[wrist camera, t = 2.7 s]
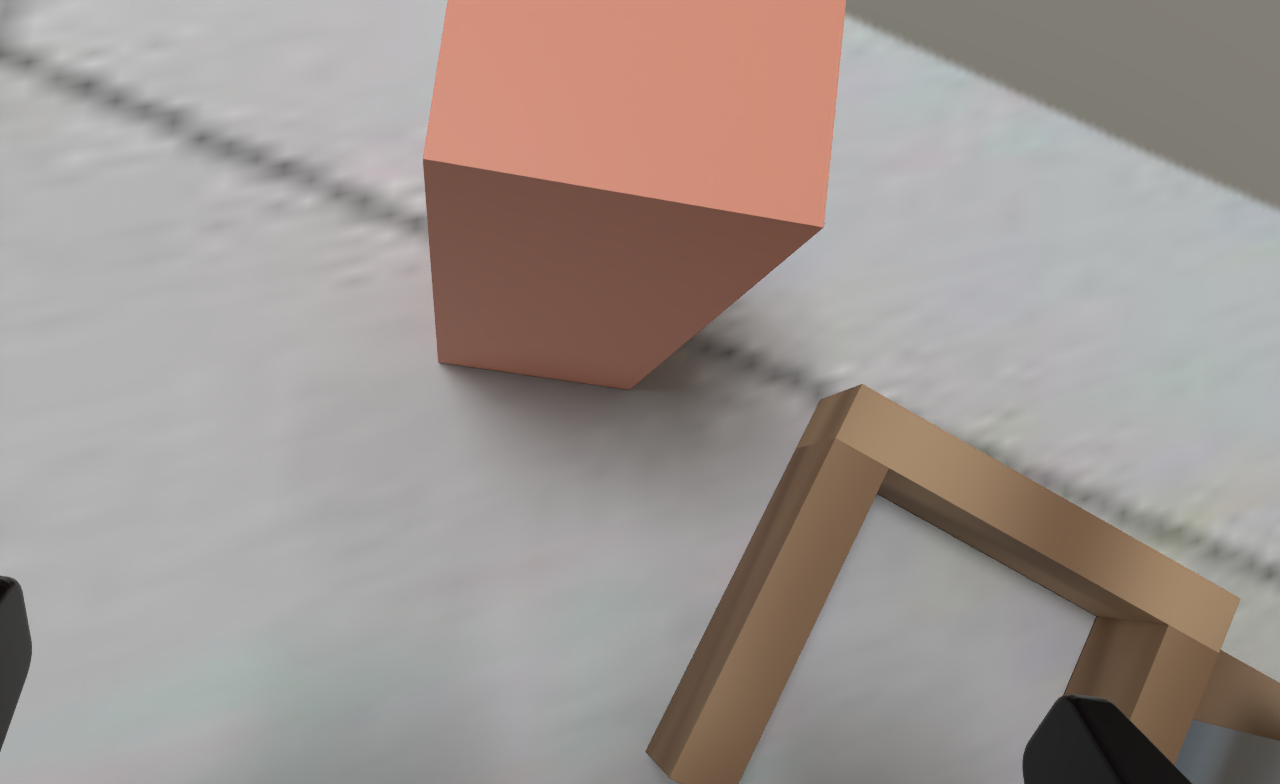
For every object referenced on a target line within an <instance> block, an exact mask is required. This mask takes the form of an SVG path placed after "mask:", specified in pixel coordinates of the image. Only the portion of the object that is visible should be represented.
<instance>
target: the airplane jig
mask: <svg viewBox="0 0 1280 784" xmlns="http://www.w3.org/2000/svg"><path fill="white" fill-rule="evenodd" d="M876 494H879V495H881V496H883V497H884V498H886V499H888V500H890V501H892V502H893V503H895V504H897V505H899V506H901V507H902V508H904V509H906V510H908V511H909V512H911V513H913V514H915V515H917V516H918V517H920V518H922V519H924V520H926V521H927V522H929V523H931V524H933V525H935V526H936V527H938V528H940V529H942V530H944V531H945V532H947V533H949V534H951V535H952V536H954V537H956V538H958V539H960V540H961V541H963V542H965V543H967V544H969V545H970V546H972V547H974V548H976V549H978V550H979V551H981V552H983V553H985V554H987V555H988V556H990V557H992V558H994V559H995V560H997V561H999V562H1001V563H1003V564H1004V565H1006V566H1008V567H1010V568H1012V569H1013V570H1015V571H1017V572H1019V573H1021V574H1022V575H1024V576H1026V577H1028V578H1030V579H1031V580H1033V581H1035V582H1037V583H1038V584H1040V585H1042V586H1044V587H1046V588H1047V589H1049V590H1051V591H1053V592H1055V593H1056V594H1058V595H1060V596H1062V597H1064V598H1065V599H1067V600H1069V601H1071V602H1073V603H1074V604H1076V605H1078V606H1080V607H1081V608H1083V609H1085V610H1087V611H1089V612H1090V613H1092V614H1094V615H1096V616H1097V618H1096V620H1095V623H1094V625H1093V627H1092V630H1091V632H1090V635H1089V637H1088V639H1087V642H1086V644H1085V646H1084V649H1083V651H1082V653H1081V656H1080V658H1079V661H1078V663H1077V665H1076V668H1075V670H1074V672H1073V675H1072V677H1071V679H1070V682H1069V684H1068V686H1067V689H1066V691H1065V694H1064V695H1066V694H1077V695H1086V696H1095V697H1101V698H1105V699H1107V700H1109V701H1110V702H1112V703H1113V704H1114V705H1116V706H1117V707H1118V708H1119V709H1120V710H1121V711H1122V712H1123V713H1124V714H1125V715H1126V716H1127V717H1128V718H1129V719H1130V720H1131V721H1132V722H1133V723H1134V724H1135V726H1136V727H1137V728H1138V729H1139V730H1140V731H1141V732H1142V733H1143V734H1144V735H1145V736H1146V737H1147V738H1148V739H1149V740H1150V741H1151V742H1152V743H1153V744H1154V745H1155V746H1156V747H1157V748H1158V749H1159V750H1160V751H1161V752H1162V753H1163V754H1164V755H1165V756H1166V757H1167V758H1168V759H1169V760H1170V761H1171V762H1172V763H1173V764H1174V765H1175V766H1176V767H1177V768H1178V769H1179V770H1180V771H1181V772H1182V773H1183V774H1184V775H1185V776H1186V777H1187V778H1188V780H1189V781H1190V782H1191V783H1192V784H1280V683H1279V682H1277V681H1275V680H1273V679H1271V678H1270V677H1268V676H1266V675H1264V674H1263V673H1261V672H1259V671H1257V670H1255V669H1254V668H1252V667H1250V666H1248V665H1246V664H1245V663H1243V662H1241V661H1239V660H1238V659H1236V658H1234V657H1232V656H1230V655H1229V654H1227V653H1225V652H1223V651H1222V650H1220V649H1221V647H1222V644H1223V642H1224V639H1225V637H1226V634H1227V632H1228V629H1229V627H1230V624H1231V622H1232V619H1233V617H1234V614H1235V612H1236V609H1237V607H1238V604H1239V602H1240V598H1239V597H1237V596H1235V595H1233V594H1232V593H1230V592H1228V591H1226V590H1225V589H1223V588H1221V587H1219V586H1218V585H1216V584H1214V583H1212V582H1210V581H1209V580H1207V579H1205V578H1203V577H1202V576H1200V575H1198V574H1196V573H1195V572H1193V571H1191V570H1189V569H1188V568H1186V567H1184V566H1182V565H1180V564H1179V563H1177V562H1175V561H1173V560H1172V559H1170V558H1168V557H1166V556H1165V555H1163V554H1161V553H1159V552H1158V551H1156V550H1154V549H1152V548H1150V547H1149V546H1147V545H1145V544H1143V543H1142V542H1140V541H1138V540H1136V539H1135V538H1133V537H1131V536H1129V535H1128V534H1126V533H1124V532H1122V531H1121V530H1119V529H1117V528H1115V527H1113V526H1112V525H1110V524H1108V523H1106V522H1105V521H1103V520H1101V519H1099V518H1098V517H1096V516H1094V515H1092V514H1091V513H1089V512H1087V511H1085V510H1083V509H1082V508H1080V507H1078V506H1076V505H1075V504H1073V503H1071V502H1069V501H1068V500H1066V499H1064V498H1062V497H1061V496H1059V495H1057V494H1055V493H1053V492H1052V491H1050V490H1048V489H1046V488H1045V487H1043V486H1041V485H1039V484H1038V483H1036V482H1034V481H1032V480H1031V479H1029V478H1027V477H1025V476H1023V475H1022V474H1020V473H1018V472H1016V471H1015V470H1013V469H1011V468H1009V467H1008V466H1006V465H1004V464H1002V463H1001V462H999V461H997V460H995V459H994V458H992V457H990V456H988V455H986V454H985V453H983V452H981V451H979V450H978V449H976V448H974V447H972V446H971V445H969V444H967V443H965V442H964V441H962V440H960V439H958V438H956V437H955V436H953V435H951V434H949V433H948V432H946V431H944V430H942V429H941V428H939V427H937V426H935V425H934V424H932V423H930V422H928V421H926V420H925V419H923V418H921V417H919V416H918V415H916V414H914V413H912V412H911V411H909V410H907V409H905V408H904V407H902V406H900V405H898V404H896V403H895V402H893V401H891V400H889V399H888V398H886V397H884V396H882V395H881V394H879V393H877V392H875V391H874V390H872V389H870V388H868V387H867V386H865V385H863V384H861V385H858V386H856V387H853V388H850V389H848V390H845V391H843V392H840V393H837V394H835V395H832V396H829V397H827V398H824V399H821V400H820V402H819V404H818V406H817V408H816V410H815V412H814V414H813V416H812V418H811V420H810V422H809V424H808V426H807V428H806V430H805V432H804V434H803V436H802V438H801V440H800V442H799V444H798V446H797V448H796V450H795V452H794V454H793V456H792V458H791V460H790V462H789V464H788V466H787V468H786V470H785V472H784V474H783V476H782V478H781V480H780V482H779V484H778V486H777V488H776V490H775V492H774V494H773V496H772V498H771V500H770V502H769V504H768V506H767V508H766V510H765V512H764V514H763V516H762V519H761V521H760V523H759V525H758V527H757V529H756V531H755V533H754V535H753V537H752V539H751V541H750V543H749V545H748V547H747V549H746V551H745V553H744V555H743V557H742V559H741V561H740V563H739V565H738V567H737V569H736V571H735V573H734V575H733V577H732V579H731V581H730V583H729V585H728V587H727V589H726V591H725V593H724V595H723V597H722V599H721V601H720V603H719V605H718V607H717V609H716V611H715V613H714V615H713V617H712V619H711V621H710V623H709V625H708V627H707V629H706V631H705V633H704V635H703V637H702V639H701V641H700V643H699V645H698V647H697V649H696V651H695V653H694V655H693V657H692V659H691V661H690V663H689V665H688V667H687V669H686V671H685V673H684V675H683V677H682V679H681V681H680V683H679V685H678V687H677V689H676V691H675V693H674V695H673V697H672V699H671V702H670V704H669V706H668V708H667V710H666V712H665V714H664V716H663V718H662V720H661V722H660V724H659V726H658V728H657V730H656V732H655V734H654V736H653V738H652V740H651V742H650V744H649V746H648V748H647V750H646V753H647V754H648V755H649V756H650V757H651V758H652V759H653V760H654V761H655V762H656V764H657V765H658V766H659V767H660V768H661V769H662V770H663V771H664V772H665V773H666V775H667V776H668V777H669V778H671V779H673V780H675V781H677V782H679V783H681V784H738V783H739V781H740V779H741V777H742V775H743V773H744V771H745V769H746V766H747V764H748V762H749V760H750V758H751V756H752V754H753V752H754V750H755V748H756V745H757V743H758V741H759V739H760V737H761V735H762V733H763V731H764V729H765V727H766V725H767V722H768V720H769V718H770V716H771V714H772V712H773V710H774V708H775V706H776V704H777V701H778V699H779V697H780V695H781V693H782V691H783V689H784V687H785V685H786V683H787V681H788V678H789V676H790V674H791V672H792V670H793V668H794V666H795V664H796V662H797V660H798V657H799V655H800V653H801V651H802V649H803V647H804V645H805V643H806V641H807V639H808V637H809V634H810V632H811V630H812V628H813V626H814V624H815V622H816V620H817V618H818V616H819V613H820V611H821V609H822V607H823V605H824V603H825V601H826V599H827V597H828V595H829V592H830V590H831V588H832V586H833V584H834V582H835V580H836V578H837V576H838V574H839V572H840V569H841V567H842V565H843V563H844V561H845V559H846V557H847V555H848V553H849V551H850V548H851V546H852V544H853V542H854V540H855V538H856V536H857V534H858V532H859V530H860V528H861V525H862V523H863V521H864V519H865V517H866V515H867V513H868V511H869V509H870V507H871V504H872V502H873V500H874V498H875V496H876Z"/></svg>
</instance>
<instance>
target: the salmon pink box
mask: <svg viewBox="0 0 1280 784" xmlns="http://www.w3.org/2000/svg"><path fill="white" fill-rule="evenodd" d="M845 6H846V0H448V2H447V8H446V14H445V21H444V27H443V34H442V40H441V46H440V53H439V59H438V66H437V72H436V78H435V85H434V91H433V98H432V104H431V110H430V117H429V123H428V129H427V136H426V142H425V149H424V155H423V166H424V180H425V193H426V206H427V219H428V233H429V246H430V259H431V272H432V285H433V299H434V312H435V325H436V338H437V352H438V362H440V363H447V364H454V365H461V366H468V367H475V368H481V369H488V370H495V371H502V372H509V373H516V374H523V375H530V376H537V377H544V378H551V379H557V380H564V381H571V382H578V383H585V384H592V385H599V386H606V387H613V388H620V389H627V390H630V389H631V388H632V387H634V386H635V385H636V384H637V383H638V382H639V381H641V380H642V379H643V378H644V377H645V376H647V375H648V374H649V373H650V372H651V371H653V370H654V369H655V368H656V367H657V366H659V365H660V364H661V363H662V362H663V361H665V360H666V359H667V358H668V357H669V356H671V355H672V354H673V353H674V352H675V351H677V350H678V349H679V348H680V347H681V346H682V345H684V344H685V343H686V342H687V341H688V340H690V339H691V338H692V337H693V336H694V335H696V334H697V333H698V332H699V331H700V330H702V329H703V328H704V327H705V326H706V325H708V324H709V323H710V322H711V321H712V320H714V319H715V318H716V317H717V316H718V315H720V314H721V313H722V312H723V311H724V310H725V309H727V308H728V307H729V306H730V305H731V304H733V303H734V302H735V301H736V300H737V299H739V298H740V297H741V296H742V295H743V294H745V293H746V292H747V291H748V290H749V289H751V288H752V287H753V286H754V285H755V284H757V283H758V282H759V281H760V280H761V279H763V278H764V277H765V276H766V275H767V274H769V273H770V272H771V271H772V270H773V269H774V268H776V267H777V266H778V265H779V264H780V263H782V262H783V261H784V260H785V259H786V258H788V257H789V256H790V255H791V254H792V253H794V252H795V251H796V250H797V249H798V248H800V247H801V246H802V245H803V244H804V243H806V242H807V241H808V240H809V239H810V238H812V237H813V236H814V235H815V234H816V233H817V232H819V231H820V230H821V229H822V228H823V227H824V219H825V209H826V199H827V188H828V178H829V168H830V158H831V148H832V138H833V128H834V118H835V107H836V97H837V87H838V77H839V67H840V57H841V47H842V37H843V26H844V16H845Z"/></svg>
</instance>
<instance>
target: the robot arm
mask: <svg viewBox="0 0 1280 784" xmlns="http://www.w3.org/2000/svg"><path fill="white" fill-rule="evenodd" d="M31 655H32V642H31V636H30V630H29V625H28V619H27V614H26V608H25V603H24V597H23V592H22V589H21V586H20V584H19V583H18V581H16V580H15V579H14V578H11V577H5V576H0V751H1V748H2V745H3V742H4V740H5V737H6V734H7V731H8V728H9V725H10V723H11V720H12V717H13V714H14V711H15V708H16V705H17V703H18V700H19V697H20V694H21V691H22V688H23V685H24V683H25V680H26V677H27V674H28V671H29V667H30V662H31ZM1023 777H1024V784H1192V783H1191V782H1190V781H1189V780H1188V778H1187V777H1186V776H1185V775H1184V774H1183V773H1182V772H1181V771H1180V770H1179V769H1178V768H1177V767H1176V766H1175V765H1174V764H1173V763H1172V762H1171V761H1170V760H1169V759H1168V758H1167V757H1166V756H1165V755H1164V754H1163V753H1162V752H1161V751H1160V750H1159V749H1158V748H1157V747H1156V746H1155V745H1154V744H1153V743H1152V742H1151V741H1150V740H1149V739H1148V738H1147V737H1146V736H1145V735H1144V734H1143V733H1142V732H1141V731H1140V730H1139V729H1138V728H1137V727H1136V726H1135V724H1134V723H1133V722H1132V721H1131V720H1130V719H1129V718H1128V717H1127V716H1126V715H1125V714H1124V713H1123V712H1122V711H1121V710H1120V709H1119V708H1118V707H1117V706H1116V705H1114V704H1113V703H1112V702H1110V701H1109V700H1107V699H1105V698H1101V697H1095V696H1086V695H1077V694H1066V695H1064V696H1062V697H1060V698H1058V700H1057V701H1056V702H1055V703H1054V705H1053V706H1052V708H1051V709H1050V711H1049V712H1048V713H1047V715H1046V716H1045V718H1044V719H1043V721H1042V722H1041V724H1040V725H1039V727H1038V728H1037V730H1036V731H1035V733H1034V734H1033V736H1032V737H1031V739H1030V740H1029V742H1028V743H1027V745H1026V748H1025V751H1024V755H1023Z"/></svg>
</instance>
